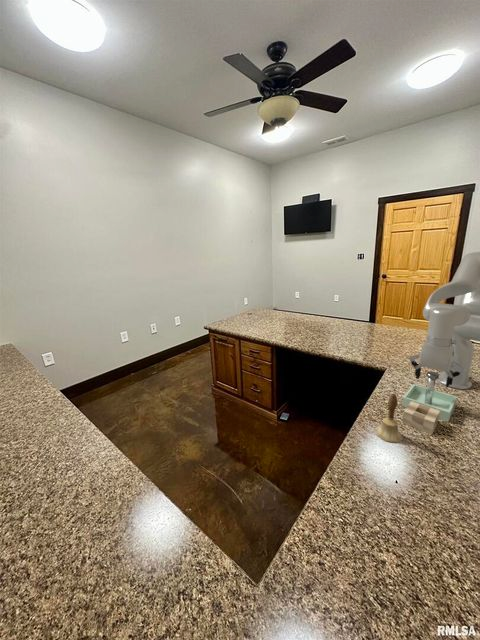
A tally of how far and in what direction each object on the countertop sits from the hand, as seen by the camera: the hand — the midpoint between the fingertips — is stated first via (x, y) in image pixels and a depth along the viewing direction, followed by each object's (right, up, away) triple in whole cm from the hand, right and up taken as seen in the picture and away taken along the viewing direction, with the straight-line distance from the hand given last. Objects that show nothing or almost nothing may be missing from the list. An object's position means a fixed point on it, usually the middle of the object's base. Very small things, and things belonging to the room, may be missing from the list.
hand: (432, 381), depth 101 cm
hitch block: (-9, -14, -6) cm, 18 cm away
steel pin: (0, -9, +3) cm, 10 cm away
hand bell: (-24, -16, -11) cm, 31 cm away
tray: (+1, -10, +3) cm, 11 cm away
